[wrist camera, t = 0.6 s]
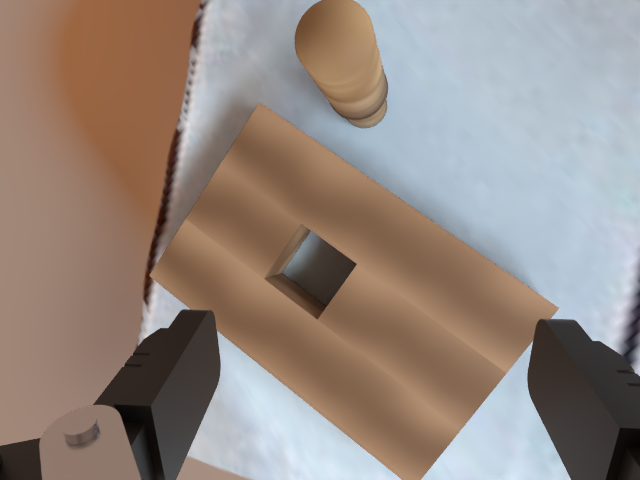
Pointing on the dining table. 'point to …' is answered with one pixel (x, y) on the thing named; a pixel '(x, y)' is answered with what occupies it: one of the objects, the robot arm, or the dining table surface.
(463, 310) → the seat board
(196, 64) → the dining table surface
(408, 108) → the dining table surface
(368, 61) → the peg
